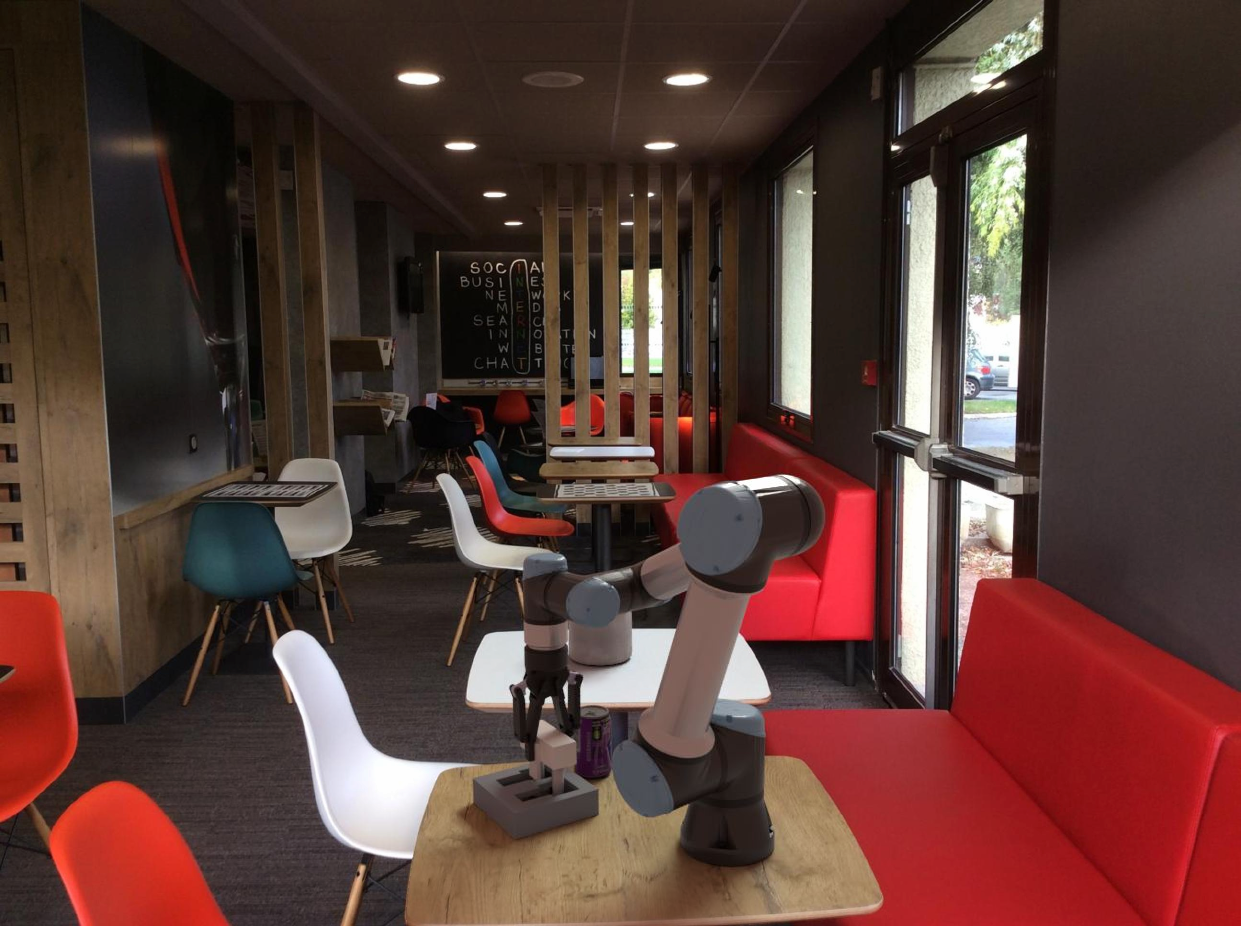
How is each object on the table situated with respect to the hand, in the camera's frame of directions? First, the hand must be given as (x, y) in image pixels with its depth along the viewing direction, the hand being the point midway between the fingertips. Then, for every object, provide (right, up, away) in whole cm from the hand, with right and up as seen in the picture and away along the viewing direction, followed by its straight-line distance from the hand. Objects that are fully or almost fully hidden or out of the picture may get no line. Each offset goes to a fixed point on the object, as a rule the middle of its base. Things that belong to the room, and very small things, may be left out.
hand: (548, 773), depth 181 cm
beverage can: (+7, -4, +14) cm, 16 cm away
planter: (+8, +5, +81) cm, 82 cm away
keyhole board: (-2, -6, -1) cm, 6 cm away
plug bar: (0, -5, +1) cm, 5 cm away
